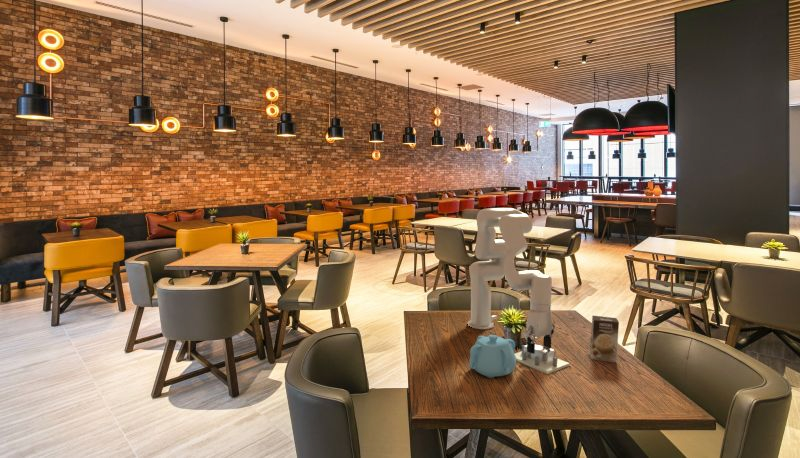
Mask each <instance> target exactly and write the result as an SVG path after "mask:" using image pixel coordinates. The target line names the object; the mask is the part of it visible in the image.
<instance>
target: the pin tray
mask: <svg viewBox="0 0 800 458" xmlns="http://www.w3.org/2000/svg"><path fill="white" fill-rule="evenodd" d="M524 346H525V345H524V344H523V345H521V351H519V352H514V355H515V357H516V362H518V363H520V364H522V365H525V366H528V367H530V368H532V369H535V370H537V371H539V372H541V373H543V374H547V375H549V374H551V373H554V372H557V371H559V370H563V369H565V368H567V367H569V366H570V363H569V362H567V361H565V360H562V359H560V358H558V357H556V356H557V354H556V350H554V357H553V362H551V363H550V364H548V365H546V364H543V363H540V362H539V357H538V356H535V361H534V360H531V359H528V358H527V352H526V351H524Z"/></svg>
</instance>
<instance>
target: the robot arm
mask: <svg viewBox="0 0 800 458" xmlns="http://www.w3.org/2000/svg"><path fill="white" fill-rule="evenodd" d="M476 226H477V234H476V241H475V249H474V255H475V257H476V258H477V259H478V260H479V261H475V262H473V263H471V264H470V265H469V269H468V270H469V279H470V320H468V321H467V324H468V325H467V326H468V327H469V326H470V328H471V327H472V328H471V329H476V330H489V329H492V328H494V326H495V325H494V322H493V321H494V320H496V319H498V316H497V315H495V314H494V315H491V314H492V313H491V311H492V307H491V306H492V290H491V287H490V285H489V284H488V282H489V281H497V280H502V279H503V278H504V277H505V279H506V282H507V284H508V287H510V288H511V290H514V291H526V290H530V300H529V301H530V302H529V303H530V305H529V310H528V313H527V319H526V326H525V327H526V328H525V329H526V330H525V331H524V332H523V337H524V340H525V342H526V345H527V352H530V353H532V354H534V353H535V344H536V343H535V341H536V340H537V339H538V338H541V337H543V343H542V344H543V347H547V348H550V349H552V338H553V334H554V332H555V331H554V330H555V328H556V324H554V323H553V322H552V321H553V319H552V318H553V317H552V310H551V309H552V287H553V286H552V282H553V280H552V276H550V275H549V274H544V273H543V272H541V271H540V270H537V269H532V270H530V269H529V270H527V269H526V270H517V269H516V266H515V257H516V256H519V255H520V254H522V253H523V252H525V251H526V250H527V248H528V242H527V239H526V237H525V235H524V234H529V233H530V232H531V231H532V229H533V221H532V218H531V217H530V216H529V215H528V214H527V213H526V212H525V213H524V212H522V211H520V210H518V209H516V208H512V207H490V208H489V207H488V208H483V209H480V210H479V211H478V213H477V216H476ZM496 228H499V231H500V234H501V236H502V239H499V238H496V235H497V232H496Z"/></svg>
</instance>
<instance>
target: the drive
mask: <svg viewBox="0 0 800 458" xmlns="http://www.w3.org/2000/svg"><path fill="white" fill-rule="evenodd" d="M524 351H526V352H527V344H526V345H525V346H524ZM554 351H555V349H553V348H547V347H545V346H542V345H539V344H536V343H535V353H534V354H532V353H530V352H527V358H528V359H531V360H534V361H535V356H538V357H539V362H540V363H543V364H546V365H548V364H550V363H551V362H553V357H554Z"/></svg>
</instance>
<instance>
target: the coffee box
mask: <svg viewBox="0 0 800 458" xmlns="http://www.w3.org/2000/svg"><path fill="white" fill-rule="evenodd" d="M619 324H620V323H619V320H618V319H617V318H616V317H608V316H600V315H599V316H598V315H592V316H591V331H590V348H589V349H590V350H589V356H590V358H591V359H590V360H595V361H604V362H610V363H612V362H613V363H617V360H618V359H617V355H618V344H619V343H618V341H619V340H618V339H619V329H620V328H619V327H620V325H619Z"/></svg>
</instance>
